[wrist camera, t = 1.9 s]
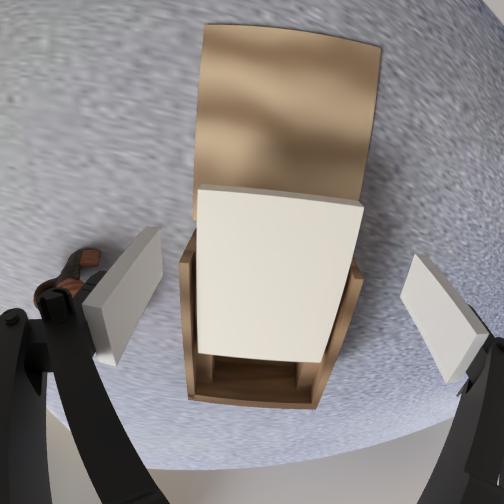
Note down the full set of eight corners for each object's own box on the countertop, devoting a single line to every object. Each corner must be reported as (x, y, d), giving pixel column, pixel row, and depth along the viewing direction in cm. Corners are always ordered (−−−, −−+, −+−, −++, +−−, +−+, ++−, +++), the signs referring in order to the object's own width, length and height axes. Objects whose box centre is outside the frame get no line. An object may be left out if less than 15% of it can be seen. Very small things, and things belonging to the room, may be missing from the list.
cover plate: (201, 183, 23) (197, 189, 21) (358, 200, 23) (364, 207, 21) (200, 342, 30) (198, 352, 29) (318, 352, 30) (320, 362, 29)
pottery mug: (123, 241, 31) (119, 312, 26) (137, 285, 38) (138, 345, 34) (28, 249, 28) (15, 315, 24) (56, 290, 36) (51, 347, 31)
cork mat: (205, 25, 21) (204, 24, 20) (379, 48, 21) (380, 48, 20) (193, 219, 29) (192, 220, 29) (350, 234, 29) (350, 236, 29)
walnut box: (195, 229, 29) (178, 262, 24) (346, 243, 29) (363, 279, 24) (197, 359, 38) (188, 399, 32) (310, 369, 38) (315, 409, 32)
